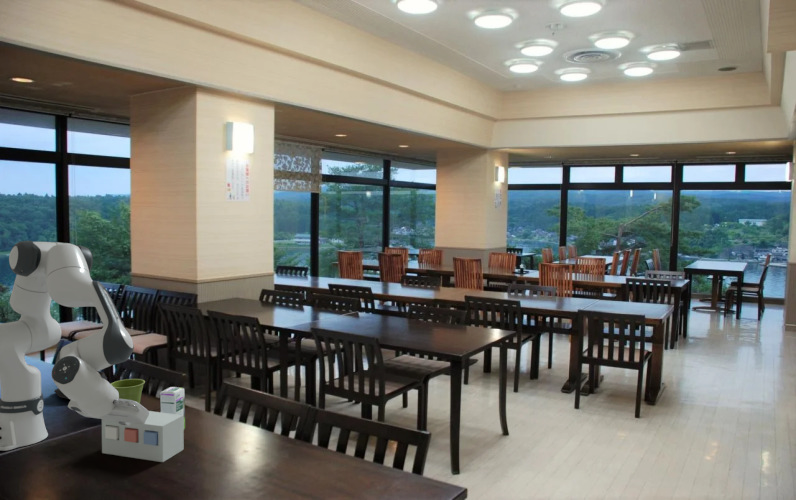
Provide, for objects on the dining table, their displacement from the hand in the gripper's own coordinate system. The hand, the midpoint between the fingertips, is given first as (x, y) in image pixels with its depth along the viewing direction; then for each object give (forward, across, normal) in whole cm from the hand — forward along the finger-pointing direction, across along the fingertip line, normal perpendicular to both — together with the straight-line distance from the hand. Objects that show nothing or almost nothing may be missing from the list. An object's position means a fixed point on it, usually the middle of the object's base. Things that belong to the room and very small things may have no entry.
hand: (126, 422), depth 164 cm
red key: (+15, +7, -1) cm, 17 cm away
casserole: (+50, +67, -28) cm, 88 cm away
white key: (+15, +14, -1) cm, 21 cm away
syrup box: (+34, +9, -12) cm, 37 cm away
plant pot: (+42, +36, -20) cm, 58 cm away
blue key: (+15, 0, -1) cm, 15 cm away
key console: (+22, +7, 0) cm, 23 cm away
